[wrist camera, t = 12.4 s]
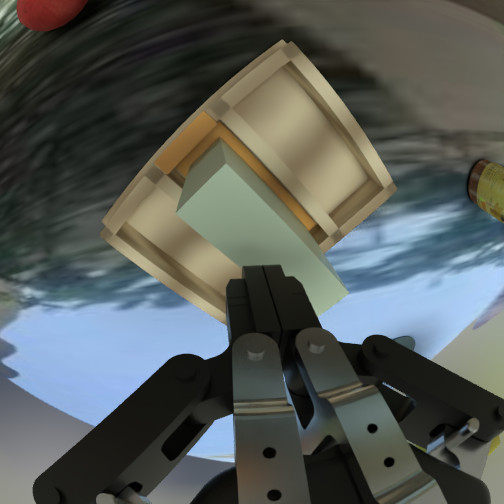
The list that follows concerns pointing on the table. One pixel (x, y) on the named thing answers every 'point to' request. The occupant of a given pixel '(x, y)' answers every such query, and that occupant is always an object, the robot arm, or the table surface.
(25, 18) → the onion
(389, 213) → the table surface
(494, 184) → the sauce bottle
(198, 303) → the rack
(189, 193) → the block
